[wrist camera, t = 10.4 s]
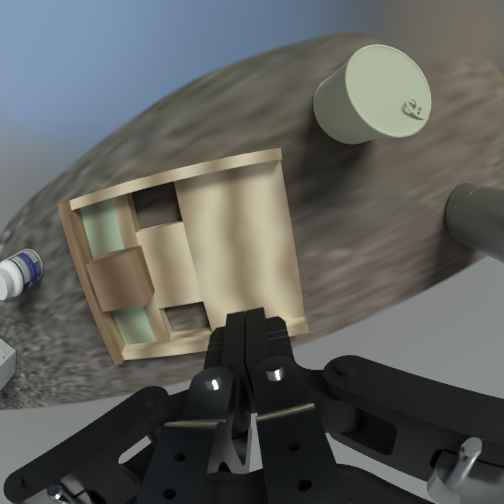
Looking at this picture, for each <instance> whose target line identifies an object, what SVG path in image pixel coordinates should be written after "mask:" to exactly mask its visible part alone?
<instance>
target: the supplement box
mask: <svg viewBox="0 0 504 504" xmlns="http://www.w3.org/2000/svg"><path fill="white" fill-rule="evenodd" d="M15 370H16V350H14V349H13V348H12V347H10V346H9V345H8V344H6V343H5V342H4V341H3V340H2V339H0V390H1V389H2V388H3V387H4V385H5V384H6V383H7V382H8V381H9V379H10V378H11V377H12V376H13V375H14V374H15Z"/></svg>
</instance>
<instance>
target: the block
mask: <svg viewBox="0 0 504 504" xmlns="http://www.w3.org/2000/svg"><path fill="white" fill-rule="evenodd" d="M86 267H87V270H88V273H89V276H90V279H91V282H92V284H93V287H94V290H95V293H96V296H97V298H98V301H99V304H100V306H101V309H102V311H103V312H104V311H111V310H118V309H125V308H131V307H138V306H144V305H147V303H148V302H149V300H150V298H151V297H152V295H153V294H154V292H155V289H154V286H153V283H152V280H151V276H150V273H149V270H148V266H147V263H146V260H145V256H144V253H143V249H142V245H139V246H135V247H130V248H126V249H122V250H117V251H113V252H109V253H104V254H100V255H98V256H97V257H96V258H94V259H93V260H92V261H90V262H89V263H87V264H86Z"/></svg>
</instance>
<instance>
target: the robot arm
mask: <svg viewBox="0 0 504 504" xmlns="http://www.w3.org/2000/svg"><path fill="white" fill-rule="evenodd" d="M446 224H447V228H448V231H449V233H450V235H451V236H452V237H453V239H455V240H456V241H458V242H460V243H462V244H465V245H467V246H469V247H471V248H473V249H475V250H477V251H480V252H482V253H484V254H486V255H488V256H490V257H492V258H494V259H497V260H498V261H501V262H503V263H504V190H501V189H496V188H491V187H486V186H481V185H475V184H469V183H464V184H461V185H459V186H458V187H457V188H455V190H454V191H453V192H452V194H451V196H450V198H449V200H448V203H447V208H446ZM207 350H208V351H207V353H206V358H205V364H204V369H203V370H202V371H200V372H199V373H197V374H196V375H195V376H194V377H193V379H192V381H191V384H190V387H189V389H187V390H185V391H182V392H179V393H176V394H173V395H168V393H167V391H166V390H165V389H164V388H162V387H159V386H150V387H146V388H143V389H141V390H139V391H137V392H136V393H134V394H133V395H132V396H130V397H129V398H127V399H126V400H124V401H123V402H121V403H120V404H119V405H117V406H116V407H114V408H113V409H111V410H110V411H108V412H107V413H105V414H104V415H103V416H101V417H100V418H98V419H97V420H95V421H94V422H92V423H91V424H89V425H88V426H87V427H85V428H83V429H82V430H80V431H79V432H77V433H75V434H74V435H72V436H71V437H69V438H68V439H66V440H65V441H63V442H62V443H60V444H59V445H57V446H55V447H54V448H52V449H51V450H49V451H47V452H46V453H44V454H43V455H41V456H39V457H38V458H36V459H34V460H33V461H31V462H30V463H28V464H26V465H25V466H23V467H21V468H20V469H18V470H16V471H15V472H13V473H12V474H10V475H9V477H8V478H7V479H6V481H5V483H4V494H5V496H6V498H7V499H8V500H9V501H10V502H12V503H13V504H435V503H433V502H430V501H428V500H426V499H423V498H421V497H419V496H416V495H414V494H412V493H410V492H408V491H406V490H404V489H401V488H399V487H397V486H395V485H393V484H391V483H389V482H387V481H385V480H383V479H381V478H379V477H378V476H376V475H374V474H372V473H370V472H368V471H366V470H363V469H361V468H358V467H354V466H350V465H344V464H337V463H336V461H335V458H334V455H333V452H332V450H331V447H330V445H329V442H328V439H327V437H326V434H325V433H329V434H330V436H331V437H332V438H333V439H335V440H337V441H338V442H340V443H342V444H344V445H346V446H348V447H350V448H352V449H354V450H356V451H358V452H360V453H362V454H364V455H366V456H368V457H370V458H372V459H374V460H377V461H379V462H381V463H383V464H385V465H388V466H390V467H392V468H395V469H397V470H399V471H401V472H404V473H406V474H408V475H411V476H414V477H416V478H418V479H421V480H423V481H426V482H427V491H428V494H429V496H430V497H431V498H432V499H433V500H434V501H436V502H438V503H439V504H504V399H501V398H497V397H493V396H489V395H485V394H481V393H477V392H474V391H470V390H466V389H462V388H459V387H455V386H451V385H448V384H444V383H441V382H438V381H434V380H430V379H427V378H424V377H421V376H418V375H414V374H411V373H408V372H405V371H401V370H398V369H395V368H392V367H389V366H386V365H383V364H380V363H377V362H374V361H371V360H368V359H365V358H362V357H359V356H354V355H346V356H341V357H338V358H335V359H333V360H331V361H330V362H329V363H328V364H327V365H326V366H325V367H324V370H310V369H306V368H303V367H301V366H299V365H298V364H297V363H296V362H295V360H294V356H293V352H292V348H291V343H290V339H289V335H288V330H287V326H286V322H285V321H284V320H283V319H282V318H281V317H279V316H275V317H270V318H266V314H265V310H264V307H260V308H255V309H250V310H246V312H245V311H239V312H234V313H229V314H227V316H226V324H225V326H223V327H217V328H216V329H215V330H214V331H213V332H212V334H211V335H210V338H209V344H208V348H207ZM251 413H257V415H258V416H257V417H256V426H257V432H258V439H259V446H260V453H261V459H262V466H263V468H262V469H259V470H256V471H253V472H250V473H249V466H250V454H251V442H252V427H251ZM145 436H147V437H148V438H149V440H150V441H151V444H149V445H148V446H146V447H145V448H144V449H143V450H142V451H140V452H139V453H137V454H136V455H135V456H133V457H132V458H131V459H129V460H128V461H127V462H125V463H122V464H119V463H118V460H119V457H120V455H121V454H122V453H124V452H125V451H127V450H128V449H129V448H131V447H132V446H133V445H134V444H136V443H137V442H139V441H140V440H141V439H143V438H144V437H145Z"/></svg>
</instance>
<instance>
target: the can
mask: <svg viewBox="0 0 504 504" xmlns="http://www.w3.org/2000/svg"><path fill="white" fill-rule="evenodd" d="M313 109H314V114H315V117H316V119H317V122H318V123H319V125H320V127H321V128H322V129H323V130H324V131H325V132H326V133H327V134H328V135H329V136H330V137H332V138H333V139H335V140H337V141H339V142H342V143H346V144H360V143H363V142H366V141H370V140H377V139H386V138H404V137H408V136H411V135H413V134H415V133H417V132H418V131H419V130H420V129H422V127H423V126H424V125H425V123H426V122H427V120H428V117H429V114H430V110H431V94H430V90H429V86H428V83H427V81H426V78H425V76H424V75H423V73H422V71H421V70H420V68H419V67H418V66H417V65H416V63H415V62H414V61H413V60H412V59H410V58H409V57H408V56H407V55H405V54H404V53H402V52H401V51H399V50H397V49H395V48H392V47H389V46H385V45H369V46H366V47H363V48H361V49H359V50H358V51H357V52H355V53H354V54H353V55H352V57H351V58H350V59H349V60H348V61H347V62H346V63H345V64H344V65H343V66H342V67H340V68H339V69H338V70H337V71H336V72H335V73H334V74H333V75H332V76H330V77H328V78H327V79H325V80H324V81H323V82H322V83H321V84H320V85H319V86H318V88H317V90H316V92H315V94H314V99H313Z"/></svg>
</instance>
